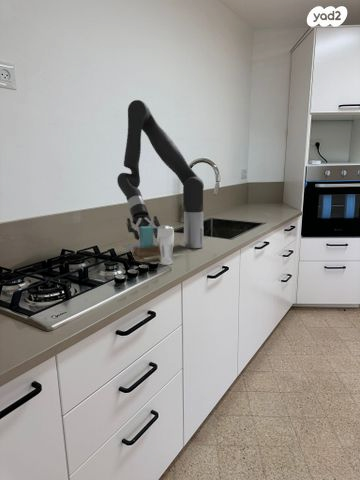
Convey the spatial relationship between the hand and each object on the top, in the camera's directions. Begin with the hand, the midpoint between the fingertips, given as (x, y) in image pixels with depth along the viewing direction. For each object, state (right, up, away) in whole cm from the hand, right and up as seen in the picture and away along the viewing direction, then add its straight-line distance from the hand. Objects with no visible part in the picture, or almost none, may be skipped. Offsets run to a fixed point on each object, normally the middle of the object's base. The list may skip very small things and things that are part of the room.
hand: (147, 238), depth 148 cm
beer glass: (+8, -11, -7) cm, 15 cm away
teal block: (-1, -7, +3) cm, 7 cm away
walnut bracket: (-1, -8, +3) cm, 8 cm away
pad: (-7, -5, +16) cm, 18 cm away
